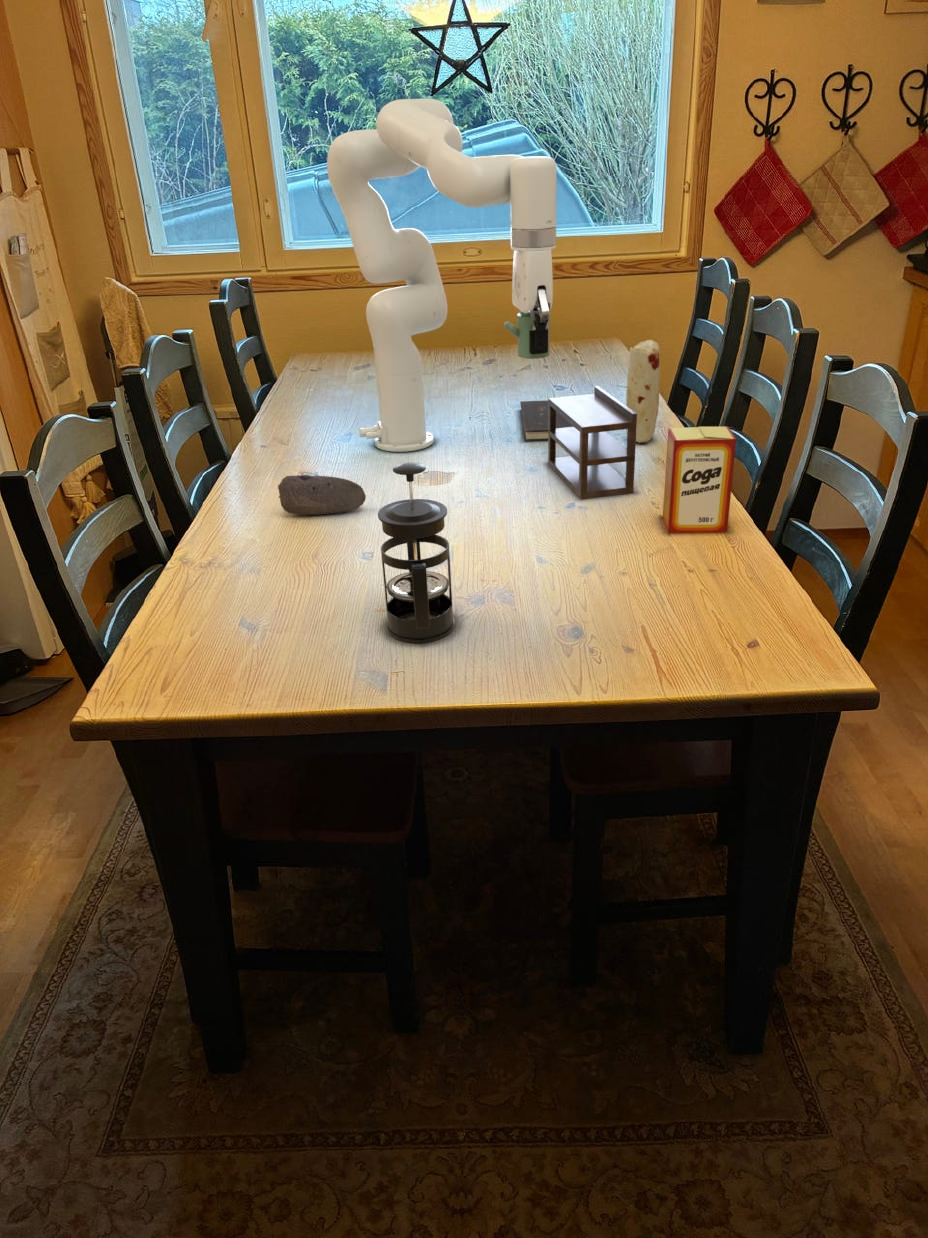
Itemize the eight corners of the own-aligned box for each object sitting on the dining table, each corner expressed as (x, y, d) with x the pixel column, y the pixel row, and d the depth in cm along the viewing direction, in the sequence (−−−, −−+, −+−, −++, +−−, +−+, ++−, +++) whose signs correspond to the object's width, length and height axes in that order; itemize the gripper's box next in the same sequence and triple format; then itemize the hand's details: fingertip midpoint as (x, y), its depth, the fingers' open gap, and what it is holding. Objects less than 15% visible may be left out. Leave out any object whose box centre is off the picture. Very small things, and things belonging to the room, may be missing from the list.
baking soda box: (668, 533, 153) (674, 437, 146) (662, 517, 159) (668, 425, 151) (727, 532, 153) (736, 436, 145) (719, 516, 158) (728, 424, 151)
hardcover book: (524, 441, 199) (524, 430, 198) (520, 410, 219) (520, 401, 218) (600, 438, 198) (600, 428, 197) (589, 408, 219) (589, 398, 217)
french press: (384, 611, 133) (370, 455, 122) (450, 605, 134) (442, 449, 123) (388, 652, 123) (373, 486, 112) (460, 645, 124) (451, 479, 113)
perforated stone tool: (368, 506, 169) (365, 469, 166) (365, 517, 165) (361, 479, 161) (286, 508, 170) (281, 471, 167) (280, 519, 165) (275, 482, 162)
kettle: (508, 361, 162) (507, 309, 158) (500, 353, 167) (499, 303, 163) (553, 357, 163) (553, 305, 159) (544, 350, 168) (544, 300, 164)
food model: (658, 446, 192) (664, 347, 183) (625, 446, 193) (629, 347, 184) (655, 431, 201) (661, 336, 191) (624, 431, 202) (628, 336, 192)
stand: (580, 499, 168) (582, 419, 161) (548, 464, 185) (548, 390, 178) (633, 492, 170) (637, 413, 163) (596, 458, 187) (598, 385, 180)
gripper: (499, 235, 163) (501, 341, 172) (525, 246, 148) (525, 362, 157) (540, 232, 164) (540, 337, 173) (570, 243, 150) (568, 358, 158)
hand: (533, 348), depth 165 cm, fingers closed on kettle, 5 cm apart
